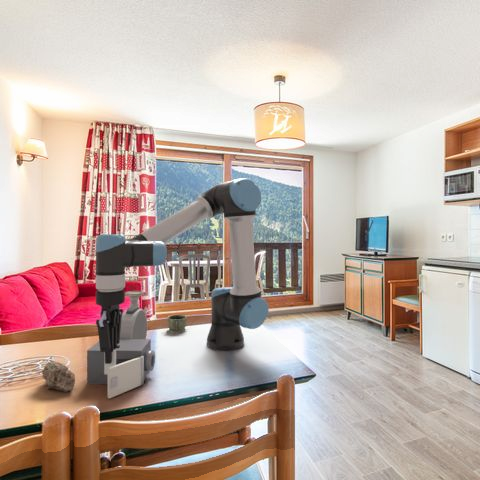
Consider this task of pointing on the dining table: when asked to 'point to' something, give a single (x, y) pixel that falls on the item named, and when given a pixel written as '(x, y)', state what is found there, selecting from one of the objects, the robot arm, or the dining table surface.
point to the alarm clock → (133, 324)
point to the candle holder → (134, 297)
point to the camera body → (119, 358)
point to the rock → (58, 376)
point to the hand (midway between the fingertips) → (110, 373)
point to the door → (125, 376)
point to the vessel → (177, 323)
